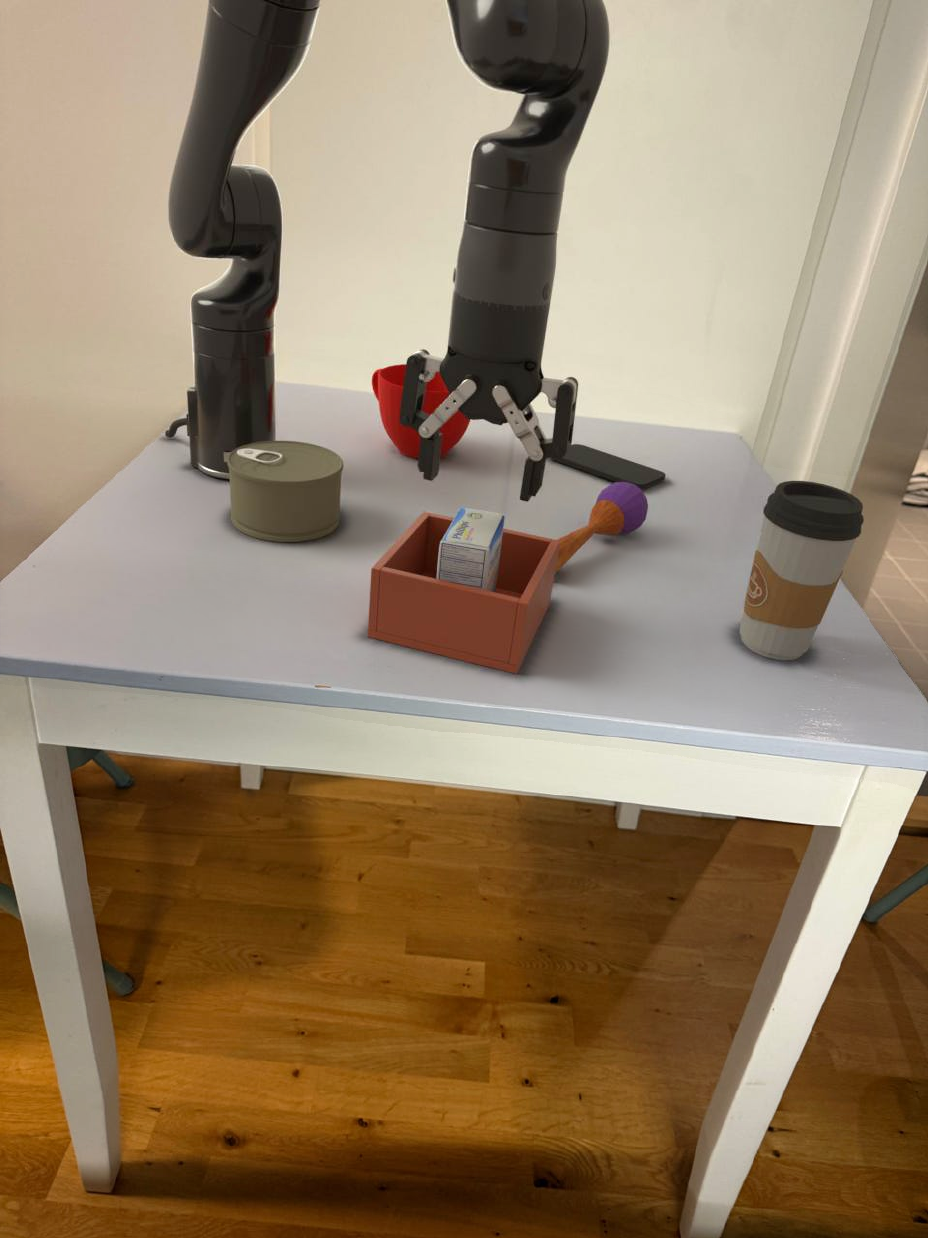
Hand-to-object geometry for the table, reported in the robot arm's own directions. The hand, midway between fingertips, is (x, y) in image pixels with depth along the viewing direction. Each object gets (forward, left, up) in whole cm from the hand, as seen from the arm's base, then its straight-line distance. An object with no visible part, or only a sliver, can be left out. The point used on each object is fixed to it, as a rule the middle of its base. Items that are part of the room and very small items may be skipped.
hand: (477, 487), depth 76 cm
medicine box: (0, 0, -12) cm, 12 cm away
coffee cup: (+28, +9, -13) cm, 32 cm away
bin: (0, 0, -13) cm, 13 cm away
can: (-24, +12, -13) cm, 30 cm away
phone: (+6, +48, -13) cm, 50 cm away
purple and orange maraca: (+8, +21, -13) cm, 26 cm away
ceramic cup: (-20, +42, -13) cm, 48 cm away
